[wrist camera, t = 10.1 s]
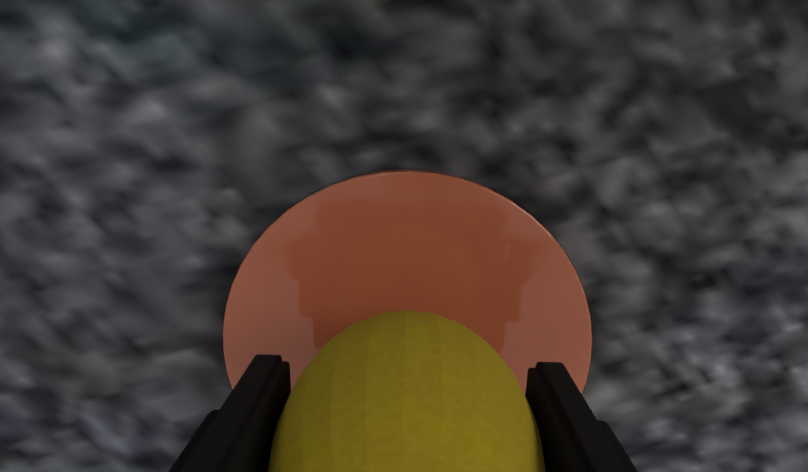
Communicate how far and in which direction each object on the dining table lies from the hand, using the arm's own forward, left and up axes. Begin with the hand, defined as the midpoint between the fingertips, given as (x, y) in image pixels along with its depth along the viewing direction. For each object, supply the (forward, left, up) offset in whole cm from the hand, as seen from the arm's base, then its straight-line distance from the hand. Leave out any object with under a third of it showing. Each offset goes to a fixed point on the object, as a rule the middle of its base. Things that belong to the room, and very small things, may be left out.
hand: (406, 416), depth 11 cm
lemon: (0, 0, -3) cm, 3 cm away
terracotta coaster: (0, 0, -3) cm, 3 cm away
